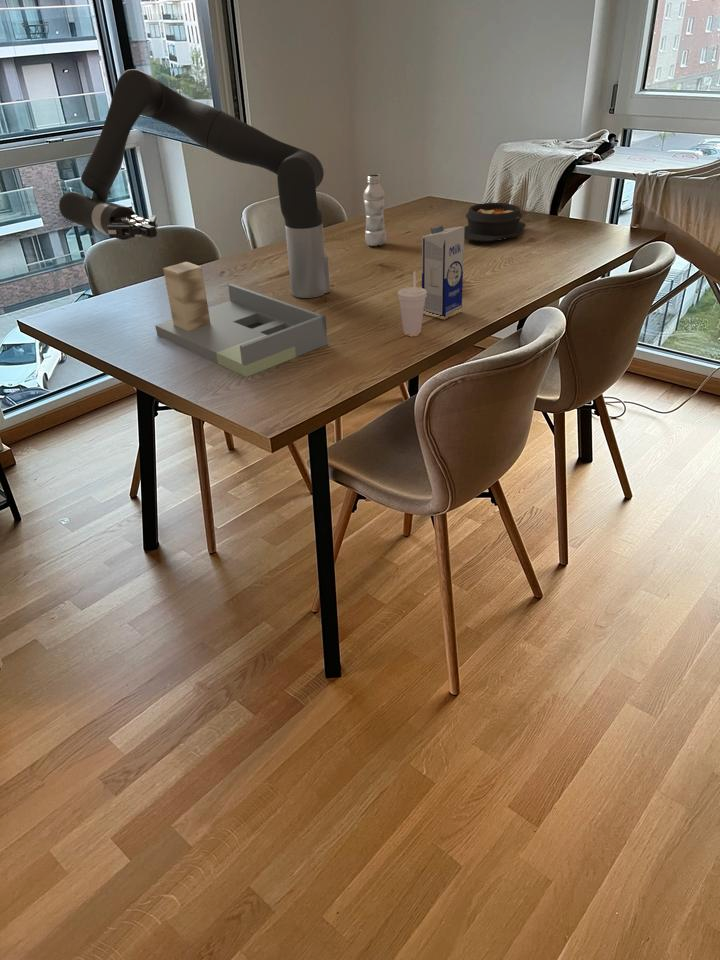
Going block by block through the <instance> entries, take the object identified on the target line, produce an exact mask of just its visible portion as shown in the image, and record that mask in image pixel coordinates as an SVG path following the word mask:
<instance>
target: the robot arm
mask: <svg viewBox="0 0 720 960" xmlns="http://www.w3.org/2000/svg"><path fill="white" fill-rule="evenodd" d="M140 116H142V117H146V118H149V119H153V120H155V121H158V122H161V123H162V124H163V123H164V124H166V125H168V126H171V127H173V128H175V129H177V130H179V131H180V132H181V133H183V134H184V135H186V136H187V137H188V138H190V139H191V140H192V141H194V142H195V143H196V144H198V145H199V146H201V147H203V148H204V149H206V150H208V151H210V152H212V153H214V154H216V155H218V156H221V157H223V158H224V159H227V160H230V161H234V162H235V163H236V162H237V163H242V164H245V165H251V166H255V167H259V168H262V169H265V170H267V171H269V172H272V173H273V174H275V175H276V176H277V177H276V179H277V189H278V190H277V191H278V196H279V205H280V206H279V207H280V211H281V214H282V217H283V219H284V226H285V228H284V229H285V238H286V239H285V240H286V247H287V249H286V250H287V258H288V259H287V261H288V272H289V273H288V274H289V281H290V282H289V283H290V285H289V286H290V292H291V294H290V295H292V296H293V297H295V298H301V299H311V298H318V297H322V296H323V295H326V294H327V293H328V292H329V293H331V289H330V287H331V286H330V273H329V270H330V268H329V256H328V254H326V252H325V240H324V239H325V238H324V237H325V236H324V224H323V222H324V221H323V213H322V211H321V210H320V209H319V207H318V201H317V188H318V187H319V186H320V185H321V183H322V182H323V179H324V173H325V171H324V167H323V164H322V162H321V161H320V159H319V158H318V156H316V155H314V154H313V153H311V152H309V151H307V150H305V149H301V148H299V147H296V146H294V145H291V144H288V143H285V142H282V141H280V140H277V139H276V138H274V137H272V136H270V135H268V134H266V133H264V132H262V131H261V130H259V129H258V128H256V127H253V126H252V125H250V124H248V123H246V122H244V121H242V120H241V119H239V118H237V117H235V116H233V115H231V114H229V113H227V112H225V111H223V110H221V109H218V108H216V107H214V106H211V105H210V104H206V103H203V102H199V101H196V100H193V99H190V98H188V97H186V96H184V95H183V94H180V93H179V92H177V91H175V90H174V89H172V88H171V87H169V86H168V85H166V84H164V83H163V82H162V81H160V80H159V79H157V78H156V77H155V76H153V75H151V74H149V73H147V72H144V71H142V70H139V69H136V68H135V69H134V68H132V69H127V70H124V72H122V74H121V75H120V76H119V78H118V80H117V81H116V85H115V87H114V91H113V95H112V98H111V101H110V105H109V108H108V111H107V115H106V118H105V121H104V124H103V127H102V129H101V133H100V135H99V137H98V140H97V142H96V144H95V146H94V149H93V150H92V153H91V155H90V156H89V159H88V161H87V164H86V166H85V167H84V170H83V171H82V173H81V177H80V181H81V182H82V184H83V185H84V186H85V187H86V188H88V190H89V191H91V192H92V197H90V196H87V195H85V194H82V193H79V192H78V191H73V190H72V191H67V192H65V193H64V194H63V195H62V196H61V198H60V199H59V202H58V208H59V212H60V215H62V217H63V218H64V219H66V220H68V221H69V222H72V223H74V224H77V225H80V226H82V227H85V228H87V229H91V230H93V231H94V230H95V231H98V232H100V233H102V234H104V235H106V236H109V238H110V239H111V238H113V239H118V240H121V241H127V240H129V239H133V238H135V237H145V238H149V239H151V238H156V237H157V234H158V231H157V229H158V226H159V225H158V220H157V216H156V215H154V214H152V215H151V216H149V217H148V219H146V218H145V217H144V216H138V215H137V214H136V212H135V211H134V210H133V209H132V208H130V207H128V206H125V205H121V204H118V203H114V202H110V201H109V202H108V199H109V194H110V190H111V188H112V186H113V184H114V182H115V180H116V177H117V176H118V174H119V171H120V170H121V168H122V164H123V162H124V161H123V160H124V156H125V150H126V145H127V141H128V138H129V135H130V132H131V130H132V128H133V126H134V125H135V123H136V122H137V120H138V119H139V117H140ZM325 293H326V294H325Z"/></svg>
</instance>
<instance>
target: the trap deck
mask: <svg viewBox="0 0 720 960" xmlns="http://www.w3.org/2000/svg"><path fill="white" fill-rule="evenodd" d="M227 285H228V293H229V294H228V295H229V301H226V302H223V303H219V304H216V305H213V306H210V307H208V310H209V317H210V323H211V324H208V325H205V326H202V327H199V328H196V329H193V330H190V331H187V330H184V329H182V328H180V327H178V326H175V325H173V319H171V320H168V321H163V322H161V323H158V324H155V325H154V327H155V330H156V331H155V332H156V336H157V337H159V338H161V337H162V338H161V339H163V338H164V340H166V341H168V342H170V343H173V344H174V345H176V346H179V347H181V348H183V349H185V350H188V351H189V352H192V353H194V354H195V355H198V356H200V357H203V358H204V359H206V360H209V361H211V362H214V363H215V364H217V365H219V366H222V367H224V368H227V369H228V370H230V371H232V372H235V373H237V374H239V375H241V376H244V377H246V378H248V377H250V376H252V375H255V374H258V373H260V372H262V371H265V370H267V369H270V368H273V367H275V366H278V365H280V364H283V363H285V362H287V361H290V360H292V359H295V358H297V357H300V356H302V355H305V354H307V353H310V352H312V351H314V350H318V349H320V348H322V347H324V346H327V345H328V333H327V332H328V331H327V317H326V315H324V314H320V313H318V312H316V311H312V310H310V309H306V308H304V307H301V306H298V305H294V304H291V303H289V302H286V301H283V300H280V299H277V298H274V297H271V296H269V295H266V294H263V293H259V292H256V291H254V290H251V289H248V288H245V287H242V286H239V285H236V284H234V283H229V284H227Z"/></svg>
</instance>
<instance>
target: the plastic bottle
mask: <svg viewBox="0 0 720 960" xmlns="http://www.w3.org/2000/svg"><path fill="white" fill-rule="evenodd" d="M366 179H367V180H366V182H367V186H366V188H365V189H364V191H363V204H364V209H365V232H364V241H365V243H366V245H367V246H369V245H370V247H378V246H377V245H380V246H383V245H384V244H385V243H386V241H387V240H386V239H387V231H386V228H385V227H386V226H385V218H384V213H385V212H384V211H385V200H386V199H385V198H386V193H385V191H384V188H383V187H382V185H381V184H380V183H381V174H375V173H374V174H371V173H370V174H368V175H367V177H366ZM382 244H383V245H382Z"/></svg>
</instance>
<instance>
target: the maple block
mask: <svg viewBox="0 0 720 960" xmlns="http://www.w3.org/2000/svg"><path fill="white" fill-rule="evenodd" d="M162 271H163V274H164V280H165V285H166V291H167V296H168V302H169V306H170V313H171V318H172V319H171V320H173V325H175V326H178V327H180V328H182V329H184V330H187V331H190V330H193V329H196V328H199V327H202V326H205V325H208V324H211V323H210V317H209V310H208V308H209V306H208V304H209V303H208V300H207V291H206V286H205V277H204V274H203V273H204V272H203V266H201V265H197V264H195V263H192V262H189V261H183V262H180V263H177V264H173V265H169V266H165V267H163V268H162Z"/></svg>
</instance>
